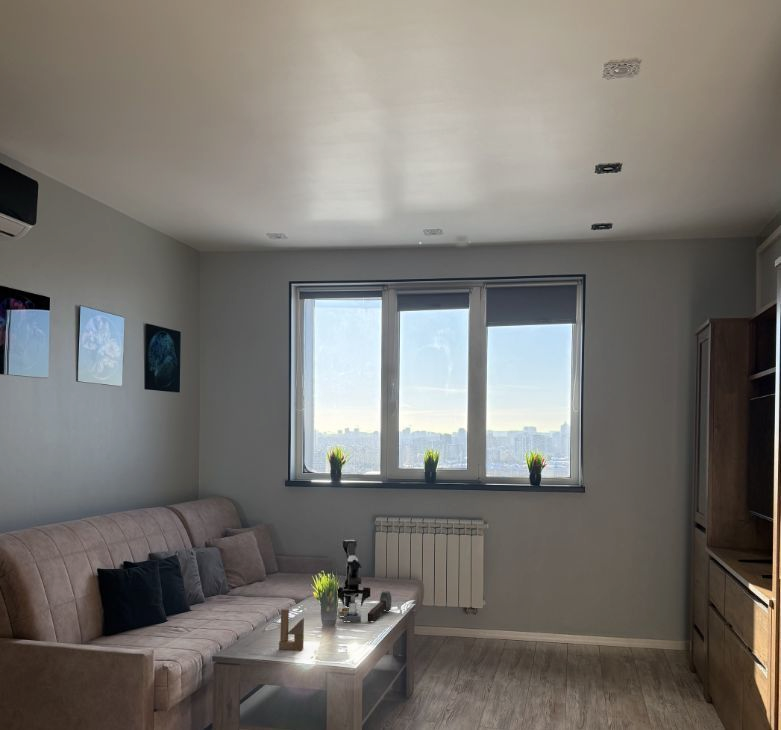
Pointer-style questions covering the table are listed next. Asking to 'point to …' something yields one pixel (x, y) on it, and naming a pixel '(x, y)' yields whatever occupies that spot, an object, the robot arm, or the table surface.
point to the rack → (343, 611)
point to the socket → (352, 617)
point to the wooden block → (296, 631)
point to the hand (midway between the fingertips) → (352, 605)
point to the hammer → (380, 606)
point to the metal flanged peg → (352, 606)
